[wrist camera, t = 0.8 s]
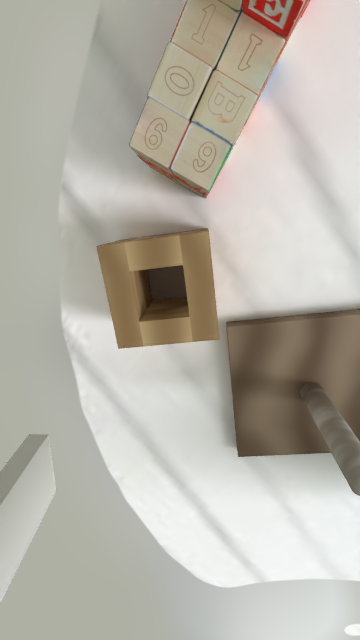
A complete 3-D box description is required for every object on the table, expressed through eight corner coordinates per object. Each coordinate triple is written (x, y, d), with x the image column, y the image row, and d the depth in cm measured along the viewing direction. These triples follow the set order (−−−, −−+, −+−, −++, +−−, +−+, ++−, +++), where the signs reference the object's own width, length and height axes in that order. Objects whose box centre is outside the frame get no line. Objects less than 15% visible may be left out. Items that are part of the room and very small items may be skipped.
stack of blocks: (206, 200, 29) (208, 189, 17) (149, 167, 28) (110, 132, 16) (351, -77, 22) (520, -413, 10) (278, -128, 21) (369, -545, 10)
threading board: (393, 306, 30) (529, 369, 18) (379, 440, 36) (477, 564, 23) (226, 322, 32) (240, 389, 20) (237, 447, 38) (253, 565, 25)
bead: (207, 228, 29) (208, 231, 23) (216, 314, 32) (219, 339, 26) (119, 240, 30) (96, 246, 24) (135, 322, 33) (118, 348, 27)
